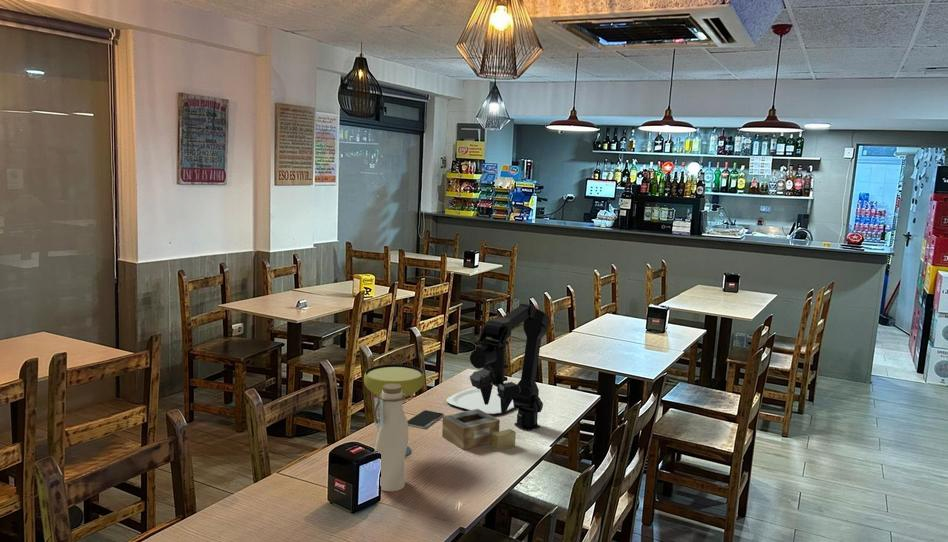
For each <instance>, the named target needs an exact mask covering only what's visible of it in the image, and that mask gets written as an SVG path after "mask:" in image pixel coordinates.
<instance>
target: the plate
mask: <svg viewBox="0 0 948 542" xmlns="http://www.w3.org/2000/svg"><path fill="white" fill-rule="evenodd" d="M497 394H498V391H497V389H495V388H492V391H491V396H490V400H489V403H488V405H485V404H484V400H483V397H482V393H481V390H480V389H477V388H476V387H471V388H468V389H464V390H462V391H459V392H457V393H455V394H453V395H450V396H449V397H447V399H446V400H445V402H446V403H448V404H449V405H451V406H454V407H456V408H459V409H464V410H466V411H470V410H474V409H479V410H481V411H483V412H485V413H487V414H489V415H498V414H502V413H501V401H500V397H499V396H498V395H497ZM512 409H515V408H514V404H513V400H512V401H511V403H510V405H509V407H508V409H507V410H506V412H509V411H510V410H512Z"/></svg>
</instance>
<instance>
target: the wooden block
mask: <svg viewBox="0 0 948 542" xmlns="http://www.w3.org/2000/svg"><path fill="white" fill-rule="evenodd" d="M516 434H517V433H516V431H515V430H513V429H510V428H507V429H504V430H499V432H495V433H492V443H491V449H492V450H495V451H496V452H500V451H504V450H509V449H512V448H515V447H516Z"/></svg>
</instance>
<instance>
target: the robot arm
mask: <svg viewBox="0 0 948 542" xmlns="http://www.w3.org/2000/svg"><path fill="white" fill-rule="evenodd" d="M550 321H551V320H550V317H549V315H548V314H547V313H545V312H544V311H542V310H540V309H538V308H537V307H536V306H535V305H533V304H529V303H520V304H519V305H518V307H516V308H514V309H513V310H511V311H510V312H508V313H506V314H505V315H504V316H501V317H497V318H496V317H495V318H491V319H488V320H487V321H486V322H485V324H484V325H483V328H482V331H481V333H480V336H479V339H478V341H477V344H478V345H475V350H473V351H471V353H470V356H469V361H470V364H471V365H472V366H473V367H474V368H475V369H478V370H477V371H473V373H472V374H471V375H470V376H469V380H470V383H471V385H472V388H477V389H480V390H481V393H482V397H483V400H484V404H485V405H488V403H489V400H490V396H491V391H492V389H493V386H495V387H497V389H496V390H497V391H498V394H497V395H498V396H499V397H500V401H501V413H500V414H502V415H505V414H506V412H507V411H506V410H507V409H508V407H509V405H510V403H511V401H512V400H513V404H514V408H513V409H517V414H516V422H515V423H514V426H516V427H518V428H520V429H522V430H524V431H530V430H535V429H539V428H540V427H541V425H540V424H538V418H539V417H538V416H539V415H538V413H541V412H542V411H543V406H544V403H543V401H542V399H541V398H540V397H539V394H540V393H539V392H540V391H539V387H538V385H537V383H536V380H537V379H536V378H537V373H538V365H539V357H540V350H541V344H542V343H541V342H542V339H543V337H545V335H546V334H547V333H548V329H549V326H550ZM522 323H523V324H522ZM521 324H522V325H523V327H522V328H523V331H524V334H525V336H526V341H525V349H524V355H523V360H522V361H523V362H522V370H521V376H520V380H519V381H518V383H514V382H513V381H510V382H507V381H508V377H507V376H506V369H508V367H509V364H507V363H506V348H507V347H506V346H508V345H509V344H510V342H509V341H508V338H509V337H511V335H512V331H513V330H514V329H515V328H516V327H517V326H519V325H521Z"/></svg>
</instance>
